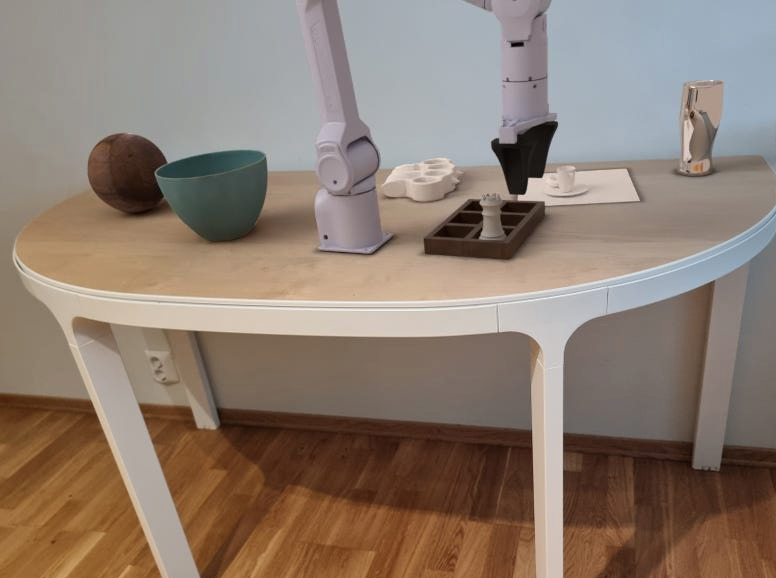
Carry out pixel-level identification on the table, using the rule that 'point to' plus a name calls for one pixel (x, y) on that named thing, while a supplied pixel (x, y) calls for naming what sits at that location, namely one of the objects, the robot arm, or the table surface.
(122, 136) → the wooden sphere
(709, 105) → the beer glass
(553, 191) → the cream piece
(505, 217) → the rack
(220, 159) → the plant pot
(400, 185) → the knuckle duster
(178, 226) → the table surface
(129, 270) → the table surface
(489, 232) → the rook chess piece
